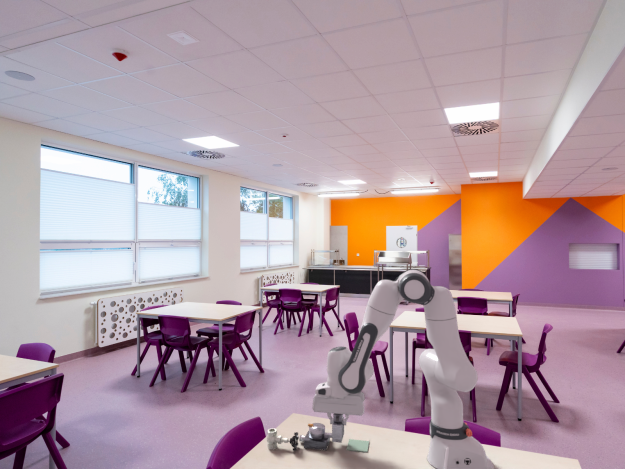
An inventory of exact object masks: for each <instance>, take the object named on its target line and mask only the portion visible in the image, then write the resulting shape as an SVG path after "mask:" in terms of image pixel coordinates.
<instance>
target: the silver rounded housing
mask: <svg viewBox="0 0 625 469" xmlns="http://www.w3.org/2000/svg"><path fill="white" fill-rule="evenodd" d="M343 419H345V416H343ZM307 427H308V431H309V437H310V438H311V439H314V440H320V439H323V438H324V437H328V438H330V439H331V443H332V442H333V443H340V444H341V443H343V438H344V435H345V425H343V435H342V424H335V423H332V424H331V432H326V425H325V424H324V423H321V422H313V423H308V424H307Z"/></svg>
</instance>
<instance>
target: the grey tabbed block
mask: <svg viewBox="0 0 625 469" xmlns="http://www.w3.org/2000/svg"><path fill="white" fill-rule="evenodd" d="M332 414H333V417H332V418H333V423H335V424H342V421H343V417H344V414H334V413H332ZM342 435H343V425H342Z"/></svg>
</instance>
